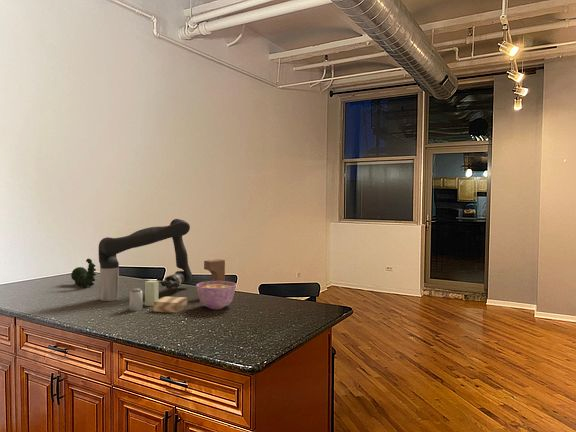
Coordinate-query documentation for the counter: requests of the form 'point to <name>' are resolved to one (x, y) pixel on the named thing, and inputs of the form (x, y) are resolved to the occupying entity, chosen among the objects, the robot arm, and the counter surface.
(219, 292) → the bowl of food
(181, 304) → the maple block
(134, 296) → the ceramic jar
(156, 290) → the sage block
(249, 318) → the counter surface
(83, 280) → the toy figurine
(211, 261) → the decorative block
